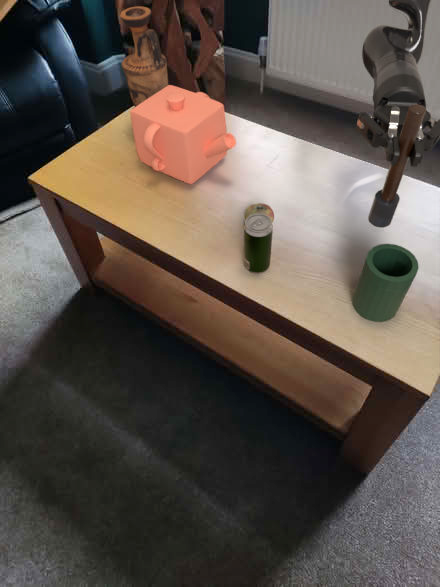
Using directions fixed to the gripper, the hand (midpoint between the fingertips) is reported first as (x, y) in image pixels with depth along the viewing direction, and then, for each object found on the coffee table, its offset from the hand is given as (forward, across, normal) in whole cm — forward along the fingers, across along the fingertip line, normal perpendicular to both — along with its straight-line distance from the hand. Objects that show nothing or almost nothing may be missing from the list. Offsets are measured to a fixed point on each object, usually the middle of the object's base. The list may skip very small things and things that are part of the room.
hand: (405, 160), depth 60 cm
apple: (-14, -21, +30) cm, 39 cm away
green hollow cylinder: (+3, +3, +30) cm, 30 cm away
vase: (-47, -54, +30) cm, 78 cm away
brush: (-3, 0, +14) cm, 14 cm away
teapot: (-34, -40, +30) cm, 61 cm away
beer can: (-3, -21, +30) cm, 37 cm away
